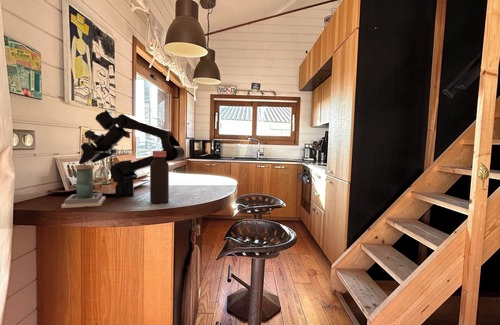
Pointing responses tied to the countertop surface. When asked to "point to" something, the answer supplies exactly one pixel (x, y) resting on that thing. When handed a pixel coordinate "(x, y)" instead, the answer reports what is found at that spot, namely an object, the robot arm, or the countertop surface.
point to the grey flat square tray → (83, 201)
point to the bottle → (159, 178)
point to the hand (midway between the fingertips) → (86, 162)
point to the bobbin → (84, 181)
